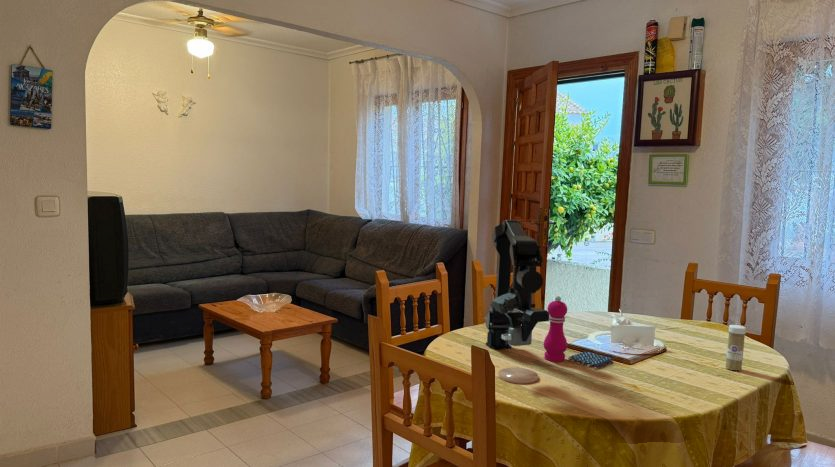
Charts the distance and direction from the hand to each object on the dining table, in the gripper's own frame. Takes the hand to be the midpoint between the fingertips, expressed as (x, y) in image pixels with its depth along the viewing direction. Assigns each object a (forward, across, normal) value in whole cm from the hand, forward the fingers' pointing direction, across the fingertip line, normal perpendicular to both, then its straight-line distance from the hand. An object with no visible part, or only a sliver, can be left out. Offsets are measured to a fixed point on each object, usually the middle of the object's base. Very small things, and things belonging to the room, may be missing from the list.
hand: (520, 339), depth 167 cm
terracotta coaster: (+11, 0, 0) cm, 11 cm away
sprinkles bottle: (+11, +16, +67) cm, 70 cm away
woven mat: (+12, -4, +29) cm, 32 cm away
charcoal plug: (+1, 0, 0) cm, 1 cm away
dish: (+12, -16, +54) cm, 57 cm away
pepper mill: (+11, -10, +20) cm, 25 cm away
